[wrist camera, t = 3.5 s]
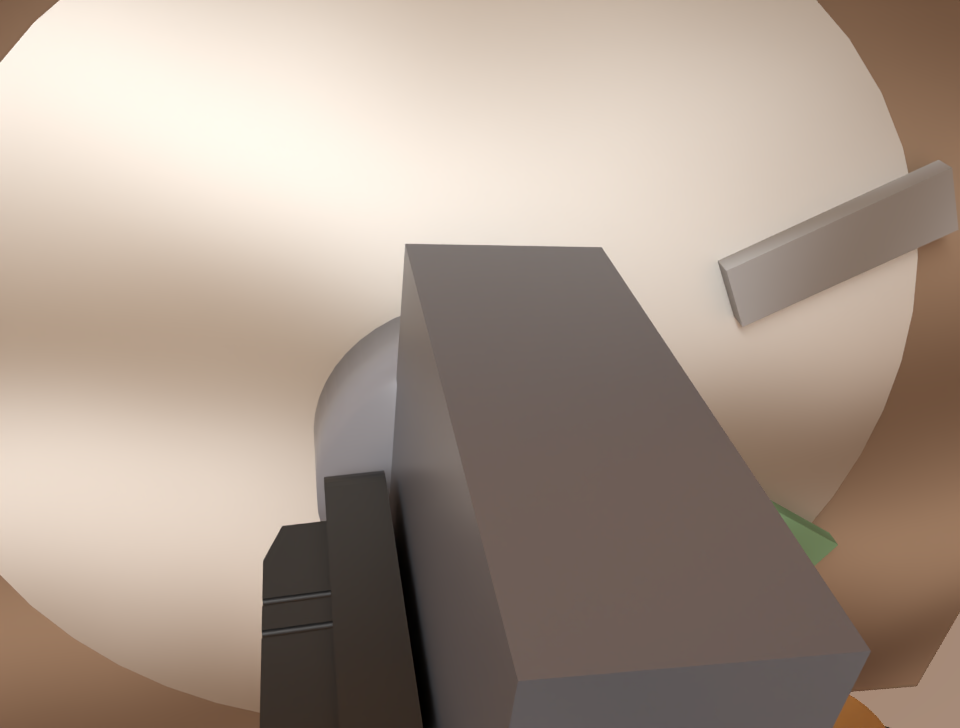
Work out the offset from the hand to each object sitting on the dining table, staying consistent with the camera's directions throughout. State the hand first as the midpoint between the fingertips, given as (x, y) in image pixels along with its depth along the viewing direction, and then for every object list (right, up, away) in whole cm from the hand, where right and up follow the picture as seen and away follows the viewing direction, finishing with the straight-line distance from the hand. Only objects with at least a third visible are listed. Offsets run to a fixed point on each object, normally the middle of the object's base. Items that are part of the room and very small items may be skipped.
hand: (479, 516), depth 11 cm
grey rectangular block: (0, 0, +2) cm, 3 cm away
